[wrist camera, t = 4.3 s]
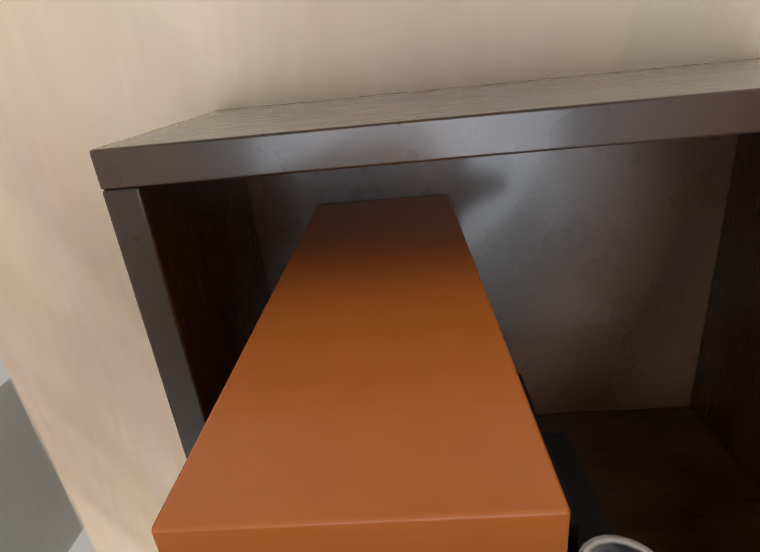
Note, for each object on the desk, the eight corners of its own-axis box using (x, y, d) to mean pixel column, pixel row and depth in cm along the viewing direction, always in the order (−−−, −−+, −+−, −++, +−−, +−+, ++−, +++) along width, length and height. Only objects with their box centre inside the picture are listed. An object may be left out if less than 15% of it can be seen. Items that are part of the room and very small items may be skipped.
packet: (341, 375, 20) (265, 837, 8) (316, 204, 17) (147, 530, 5) (455, 367, 20) (546, 836, 8) (448, 193, 17) (572, 511, 5)
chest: (284, 431, 22) (232, 607, 15) (216, 110, 17) (87, 150, 10) (695, 408, 21) (848, 586, 14) (762, 57, 16) (1063, 60, 9)
